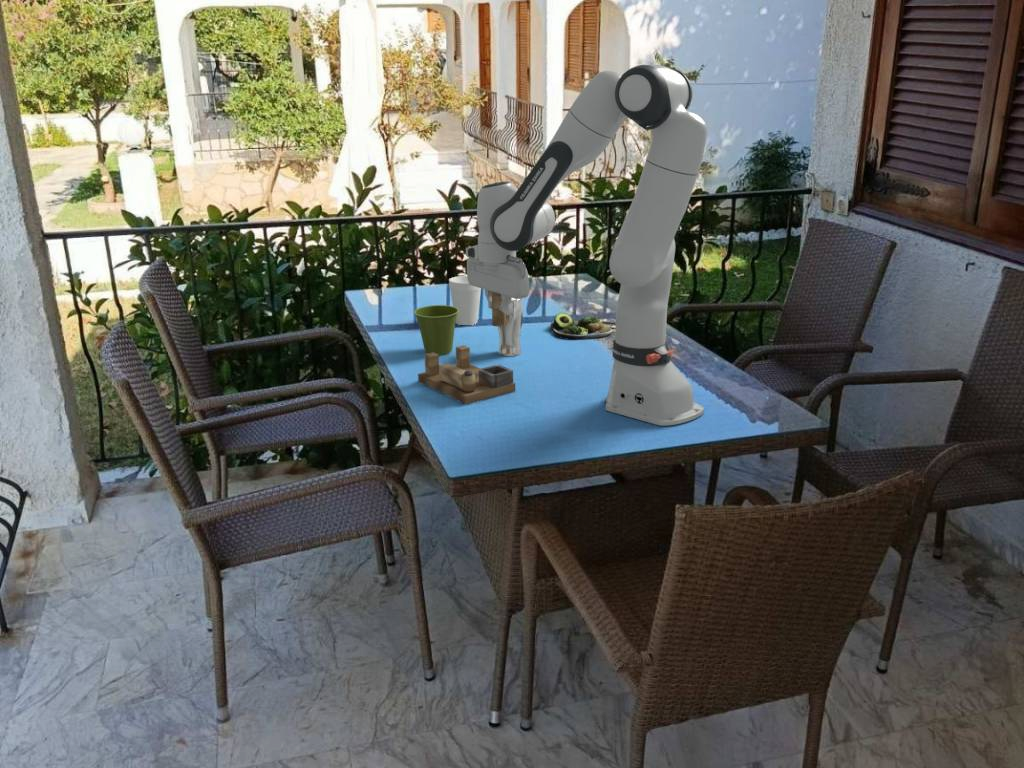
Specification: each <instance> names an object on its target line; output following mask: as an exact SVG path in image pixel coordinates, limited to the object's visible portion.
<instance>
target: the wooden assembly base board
mask: <svg viewBox="0 0 1024 768" xmlns="http://www.w3.org/2000/svg"><path fill="white" fill-rule="evenodd" d="M439 355H440V354H436V353H434V352H432V353H428V354H427V353H424V369H425V370H424V372H420V373H418V374H417V379H418V380H417V382H418V383H421V384H423V385H424V386H427V387H428V388H431V389H433V390H435V391H436V392H440V393H441V394H443V395H445V394H446V395H445V396H447V395H448V396H447V397H449V396H450V397H449V398H451V397H452V398H451V399H453V398H454V400H455V401H458V400H459V401H458V402H460V401H461V402H460V403H462V402H463V404H464V403H465V404H464V405H466V404H467V405H470V404H469V403H471V404H474V403H478V402H481V400H482V401H485V400H489V399H492V398H496V397H499V396H498V395H500V396H503V395H507V394H510V392H511V393H514V392H516V382H514V370H513V369H511V368H508V367H506V366H503V365H502V364H498V365H497V364H495V365H491V366H487V367H482V368H480V367H478V366H476V365H473V364H471V352H470V347H469V346H467V345H464V344H462V345H459V346H455V361H456V362H455V364H452V365H453V366H456V367H458V368H461V369H463V370H465V371H472V373H474V374H475V390H474V391H470V392H467V391H463V390H462V389H460V388H458V387H456V386H453V385H451V384H449V383H447V382H445V381H442V380H440V377H439V365H440V356H439ZM513 391H514V392H513ZM502 394H503V395H502ZM495 396H496V397H495ZM488 398H489V399H488ZM477 401H478V402H477ZM473 402H474V403H473Z"/></svg>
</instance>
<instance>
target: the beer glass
mask: <svg viewBox="0 0 1024 768" xmlns="http://www.w3.org/2000/svg"><path fill="white" fill-rule="evenodd" d="M523 306H524V305H523V298H521V299H515V298H512V299H511V301H510V303H509V311H508V312H506V313H505V325H504V326H500V327H497V331H498V337H499V344H498V355H500V356H503V357H517V356H520V355H521V354H522V348H521V332H522V326H523V321H524V320H523V317H524V309H523Z"/></svg>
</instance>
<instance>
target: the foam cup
mask: <svg viewBox="0 0 1024 768" xmlns="http://www.w3.org/2000/svg"><path fill="white" fill-rule="evenodd" d="M448 287H449V289H450V297H451V302H452V306H453V307H456V308H458V309H459V312H458V313H457V318H456V322H455V325H457V324H458V325H457V326H460V325H472V326H475V325H477V324H478V319H479V313H480V312H479V311H480V310H479V309H480V303H481V302H480V301H481V293H482V292H481V291H482V288H478V287H475V286H472V285H470V284H469V281H468V278H467V275H459V276H454V277H453V276H452V277H451V278H448ZM476 323H477V324H476ZM474 324H475V325H474Z"/></svg>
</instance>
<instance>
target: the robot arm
mask: <svg viewBox="0 0 1024 768" xmlns="http://www.w3.org/2000/svg"><path fill="white" fill-rule="evenodd" d="M692 100H693V86H692V84H691V81H690V80H689V78H688V77H687V76H686V75H685V74H684V73H683V72H682V71H680V70H678V69H675V68H674V67H673V68H672V67H666V66H665V65H661V64H639V65H635V66H633V67H631V68H628V70H626V71H625V72H624V73H623V74H619V73H618V72H615V71H611V70H605V71H604V70H603V71H600V72H598V73H596V74H595V75H594V76H593V77H592V79H591V80H589V82H588V83H587V84H586V85H585V86H584V87H583V89H582V91H581V92H580V93H579V94H578V96H577V98H575V100H574V102H573V103H572V105H571V106H570V108H569V110H568V111H567V113H566V114H565V116H564V118H563V120H562V121H561V123H560V124H559V126H558V129H557V130H556V132H555V134H554V135H553V137H552V138H551V140H550V141H549V143H548V145H547V147H546V148H545V150H544V152H543V153H542V154H541V156H540V157H539V159H538V160H537V161H536V163H535V164H534V165H533V167H532V169H531V170H530V171H529V173H528V175H527V176H526V177H525V179H524V180H523V182H522V183H521V185H520V186H519V187H518V188H517V187H516V186H515V185H514V184H513V183H512V182H510V181H497V182H494V183H489V184H484V185H483V186H482V187H481V188H480V189H479V192H478V195H477V203H476V204H477V206H476V207H477V210H476V216H477V217H476V220H477V221H476V222H477V225H478V229H479V230H478V231H479V233H478V236H477V244H476V245H475V244H474V245H473V246H468V247H466V248H465V256H466V257H467V259H466V274H467V275H466V276H467V278H468V281H469V284H470V285H472V286H475V287H478V288H481V290H484V295H485V298H486V301H487V306H488V308H489V309H491V310H492V292H495V293H498V294H501V298H502V299H503V300H502V303H501V304H500V305H499V311H500V312H503V313H506V312H508V311H509V303H510V301H511V299H512V298H515V299H521V298H522V299H524V298H525V299H526V298H527V297H528V296H529V295H530V281H529V280H530V279H529V273H528V270H527V267H526V264H525V262H524V261H523V259H522V258H520V257H517V252H518V251H520V250H521V249H523V248H525V247H527V246H529V244H533V243H535V242H538V241H539V240H541V239H543V238H546V237H547V236H549V234H551V233H552V231H554V228H555V225H556V213H555V210H554V208H553V206H552V205H551V203H550V202H548V200H549V198H550V196H552V194H553V192H554V191H555V189H556V188H557V187H558V186H559V184H561V182H562V181H564V180H565V179H566V178H567V177H569V176H570V175H572V174H573V173H575V172H577V171H579V170H580V169H583V168H584V167H587V166H588V165H590V164H592V163H593V162H595V161H596V159H597V158H599V157H600V156H601V155H602V154H603V152H604V151H605V150H606V148H607V147H609V145H610V144H611V142H612V140H613V139H614V137H615V136H616V135H617V132H618V131H619V129H620V128H621V126H622V125H623V124H624V123H625V121H626V120H627V119H630V120H631V121H633V123H636V125H638V126H639V127H640V128H642V129H643V130H646V131H650V132H651V142H650V146H649V149H648V153H647V155H646V159H645V161H644V166H643V169H642V171H641V175H640V177H639V181H638V185H637V186H636V187H637V188H636V190H635V194H634V197H633V199H632V202H631V204H630V206H629V208H628V210H627V213H626V215H625V218H624V220H623V223H622V224H621V228H620V230H619V233H618V235H617V237H616V241H615V243H614V246H613V249H612V251H611V254H610V257H609V265H608V266H609V270H610V273H611V275H612V276H613V278H614V279H615V280H616V282H618V283H619V284H620V286H619V287H620V288H619V293H618V298H617V301H616V307H615V322H616V325H615V329H614V330H615V331H614V332H615V334H614V335H615V336H614V339H613V341H612V348H611V350H612V357H613V365H612V369H611V370H612V371H611V375H610V382H609V388H608V392H607V396H606V398H605V402H606V404H605V410H606V411H608V412H610V413H614V414H617V415H621V416H625V417H628V418H631V419H632V418H633V419H636V420H639V421H643V422H647V423H649V424H653V425H656V426H661V427H665V426H673V425H674V426H675V425H679V424H683V423H687V422H690V421H692V420H695V419H697V418H699V417H700V416H702V415H704V413H705V409H704V407H703V406H702V405H700V404H699V403H696V402H694V391H693V386H692V384H691V382H690V381H689V380H688V379H687V378H686V377H685V376H684V374H682V373H681V371H680V370H679V369H678V367H677V366H676V365H675V364H674V363H673V361H672V356H673V355H675V353H674V352H675V349H671V350H670V349H669V345H668V342H667V339H666V336H667V319H668V318H667V317H668V316H667V315H668V304H669V297H670V293H671V287H672V281H673V280H672V278H673V272H674V264H675V255H676V241H675V236H676V234H677V232H678V229H679V227H680V224H681V221H682V220H683V217H684V216H685V213H686V211H687V208H688V206H689V202H690V200H691V196H692V193H693V190H694V187H695V184H696V181H697V178H698V176H699V173H700V169H701V166H702V161H703V158H704V155H705V154H704V153H705V149H706V144H707V137H708V136H707V135H708V127H707V123H706V122H705V121H704V120H703V119H702V118H701V117H700V116H699V115H698V114H696V113H693V112H691V111H689V110H688V109H689V107H690V105H691V102H692Z"/></svg>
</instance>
